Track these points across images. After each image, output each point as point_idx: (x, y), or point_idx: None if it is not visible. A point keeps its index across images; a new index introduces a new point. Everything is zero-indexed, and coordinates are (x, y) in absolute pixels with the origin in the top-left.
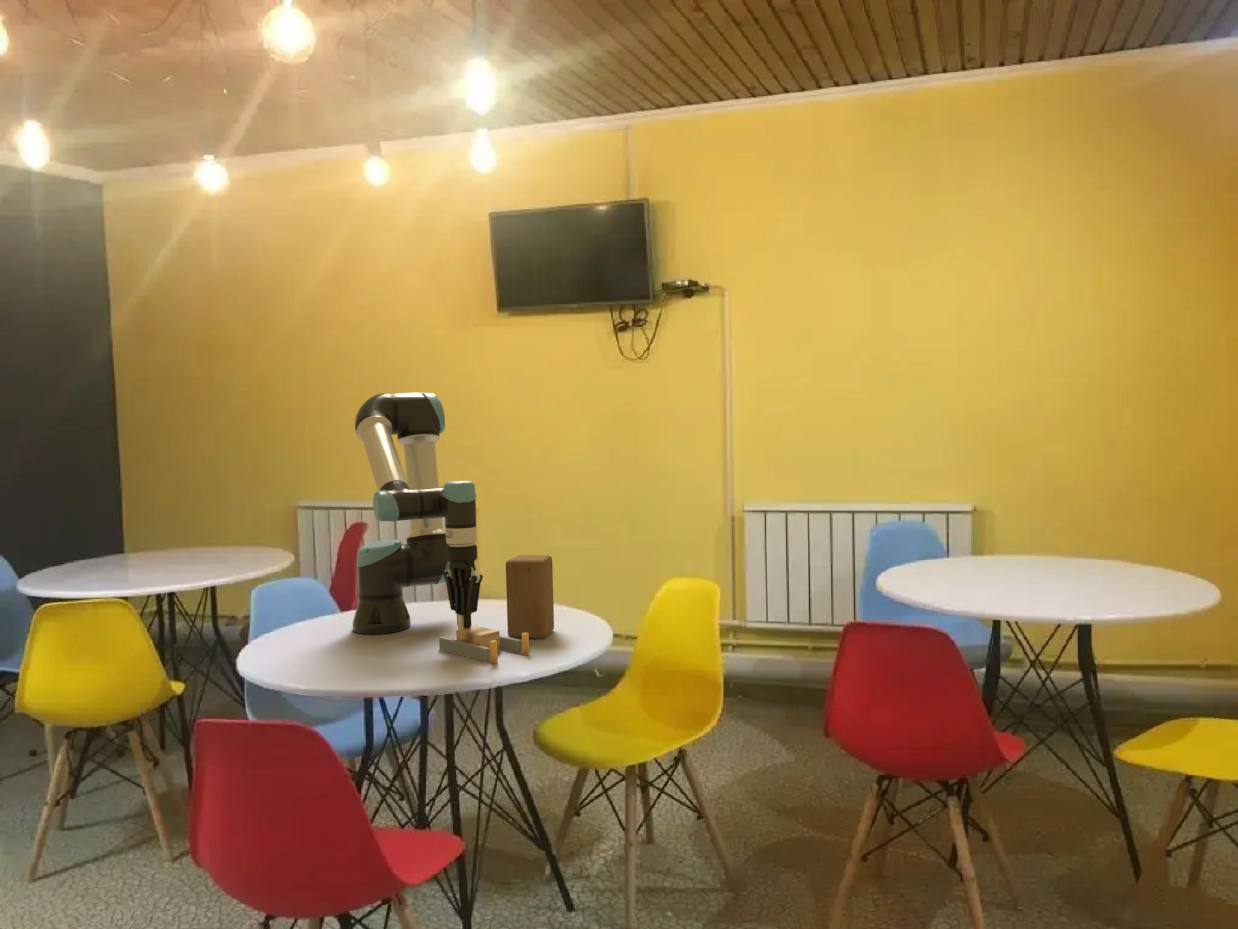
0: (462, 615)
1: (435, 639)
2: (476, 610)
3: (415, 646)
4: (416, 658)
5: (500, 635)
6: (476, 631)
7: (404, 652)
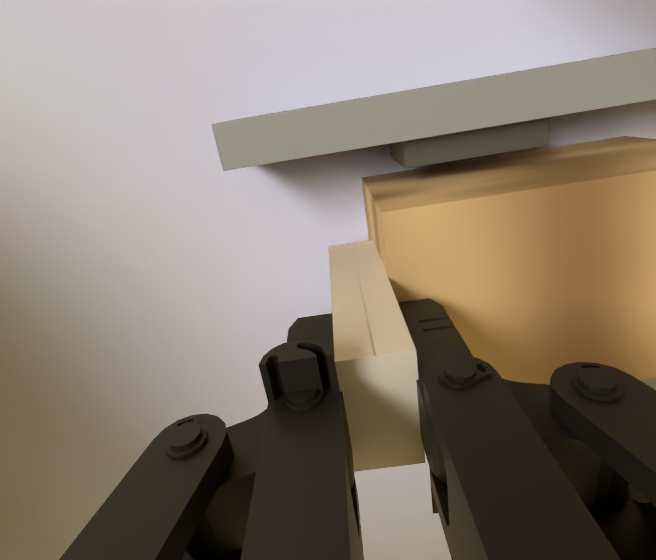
0: (420, 444)
1: (16, 297)
2: (626, 381)
3: (132, 436)
4: (365, 508)
5: (618, 63)
6: (580, 320)
7: None
